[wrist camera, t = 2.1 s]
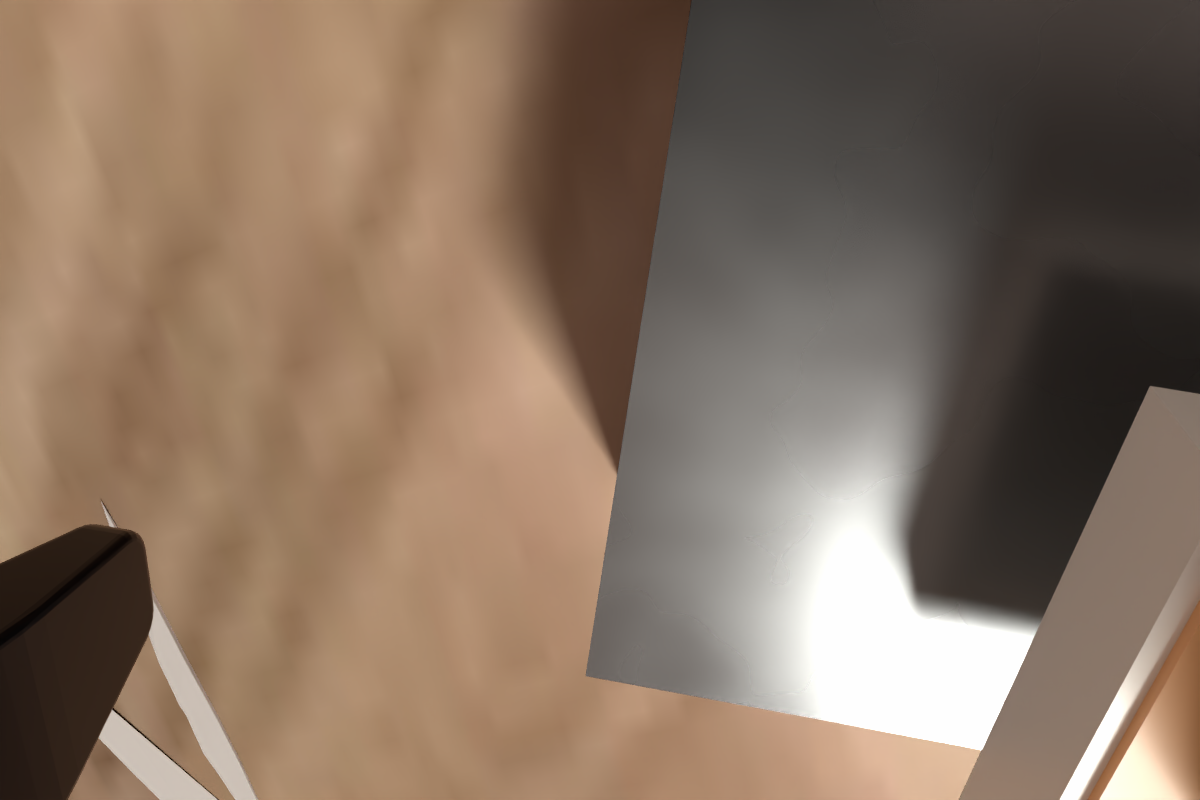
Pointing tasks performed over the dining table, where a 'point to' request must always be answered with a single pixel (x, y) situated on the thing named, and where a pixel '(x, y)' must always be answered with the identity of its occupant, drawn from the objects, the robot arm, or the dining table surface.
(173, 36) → the dining table surface
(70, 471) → the dining table surface
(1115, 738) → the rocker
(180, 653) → the scissors
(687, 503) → the breaker box
